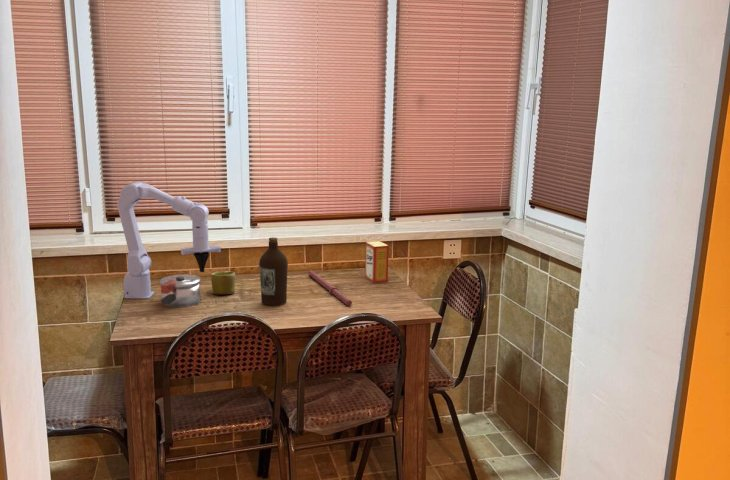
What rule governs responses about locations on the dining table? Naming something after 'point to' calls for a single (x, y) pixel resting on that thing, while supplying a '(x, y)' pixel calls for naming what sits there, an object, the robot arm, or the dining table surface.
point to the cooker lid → (178, 282)
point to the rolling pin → (330, 288)
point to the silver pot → (182, 297)
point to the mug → (223, 282)
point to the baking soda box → (376, 261)
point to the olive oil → (273, 275)
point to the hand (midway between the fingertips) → (201, 271)
